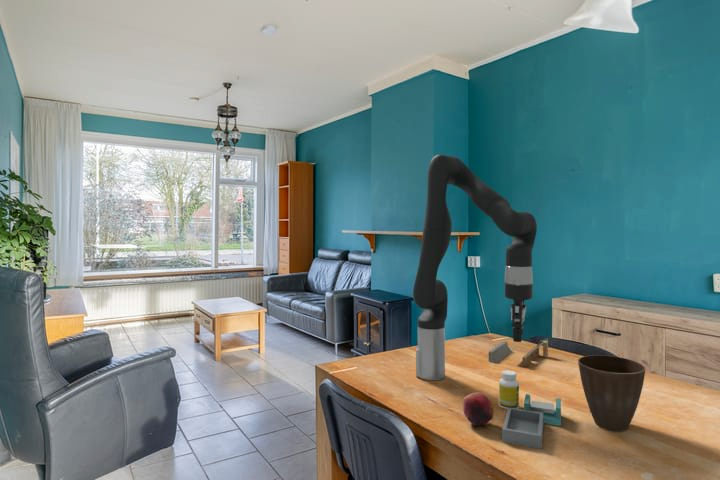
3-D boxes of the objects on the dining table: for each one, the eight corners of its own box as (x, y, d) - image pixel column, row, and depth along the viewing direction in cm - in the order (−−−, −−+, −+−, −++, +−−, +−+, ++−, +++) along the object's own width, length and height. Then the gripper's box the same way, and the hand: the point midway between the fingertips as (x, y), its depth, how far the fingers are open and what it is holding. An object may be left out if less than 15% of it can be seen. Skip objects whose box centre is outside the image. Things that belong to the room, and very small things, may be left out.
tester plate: (530, 410, 115) (530, 406, 115) (531, 404, 119) (531, 400, 119) (553, 413, 113) (553, 410, 112) (554, 407, 117) (554, 403, 116)
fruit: (492, 419, 115) (492, 389, 115) (495, 432, 108) (495, 401, 107) (463, 416, 117) (462, 387, 117) (463, 429, 109) (463, 398, 109)
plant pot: (618, 444, 101) (618, 376, 101) (565, 419, 115) (565, 359, 114) (659, 431, 107) (659, 367, 107) (603, 409, 121) (604, 352, 120)
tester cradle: (523, 419, 114) (523, 403, 114) (525, 409, 121) (525, 393, 121) (561, 426, 111) (560, 408, 111) (560, 415, 117) (560, 398, 117)
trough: (502, 441, 103) (502, 429, 103) (508, 418, 115) (508, 407, 115) (541, 448, 99) (541, 436, 99) (543, 424, 112) (543, 412, 112)
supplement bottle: (520, 411, 120) (520, 376, 120) (500, 409, 121) (499, 375, 121) (517, 403, 125) (517, 369, 125) (497, 402, 126) (497, 368, 126)
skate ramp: (497, 346, 187) (497, 329, 186) (587, 360, 166) (587, 340, 166) (471, 364, 163) (471, 344, 163) (573, 383, 142) (573, 360, 142)
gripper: (506, 278, 132) (506, 331, 132) (502, 284, 118) (502, 342, 119) (533, 279, 129) (533, 333, 129) (531, 285, 115) (531, 345, 116)
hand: (518, 337), depth 124 cm, fingers open, 8 cm apart
